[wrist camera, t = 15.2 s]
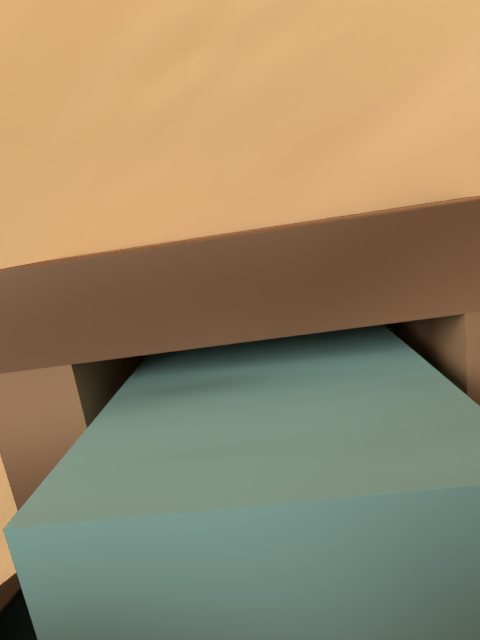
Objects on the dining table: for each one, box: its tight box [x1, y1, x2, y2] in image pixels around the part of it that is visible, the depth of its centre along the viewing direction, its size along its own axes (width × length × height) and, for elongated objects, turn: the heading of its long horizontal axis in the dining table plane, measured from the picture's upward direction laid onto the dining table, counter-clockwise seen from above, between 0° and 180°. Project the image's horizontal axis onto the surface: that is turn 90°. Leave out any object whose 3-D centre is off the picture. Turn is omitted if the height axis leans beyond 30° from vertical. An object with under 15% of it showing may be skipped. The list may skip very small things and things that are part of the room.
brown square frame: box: [0, 196, 480, 511], centre depth 11 cm, size 12×12×4 cm
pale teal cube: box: [3, 324, 480, 640], centre depth 9 cm, size 6×6×8 cm
